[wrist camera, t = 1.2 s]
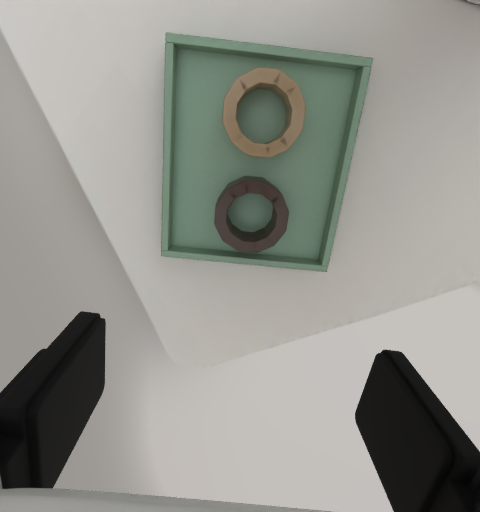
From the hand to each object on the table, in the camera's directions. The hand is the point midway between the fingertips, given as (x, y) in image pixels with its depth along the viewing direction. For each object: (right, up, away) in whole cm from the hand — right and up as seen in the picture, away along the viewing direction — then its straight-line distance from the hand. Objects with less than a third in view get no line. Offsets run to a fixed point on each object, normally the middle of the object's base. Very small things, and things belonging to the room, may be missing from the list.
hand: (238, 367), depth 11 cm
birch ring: (+2, +15, +15) cm, 22 cm away
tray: (+1, +12, +17) cm, 21 cm away
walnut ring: (+1, +8, +18) cm, 20 cm away
